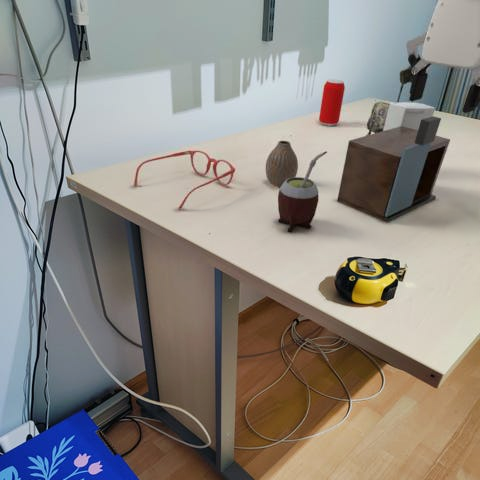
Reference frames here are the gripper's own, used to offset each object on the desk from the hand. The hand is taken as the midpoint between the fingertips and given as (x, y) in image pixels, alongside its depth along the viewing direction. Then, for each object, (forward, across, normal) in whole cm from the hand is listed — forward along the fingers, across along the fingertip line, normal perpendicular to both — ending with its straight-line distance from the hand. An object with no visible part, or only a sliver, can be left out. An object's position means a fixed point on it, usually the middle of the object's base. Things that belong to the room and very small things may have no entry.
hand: (440, 105), depth 72 cm
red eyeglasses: (+19, +36, +29) cm, 49 cm away
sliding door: (+18, 0, +4) cm, 19 cm away
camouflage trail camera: (+20, +25, -26) cm, 41 cm away
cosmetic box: (+20, +15, -17) cm, 30 cm away
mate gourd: (+19, +10, +23) cm, 31 cm away
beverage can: (+20, +51, -36) cm, 65 cm away
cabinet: (+19, +7, -1) cm, 21 cm away
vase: (+19, +26, +11) cm, 34 cm away
